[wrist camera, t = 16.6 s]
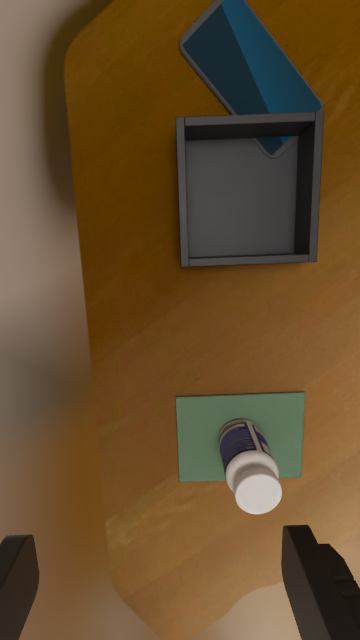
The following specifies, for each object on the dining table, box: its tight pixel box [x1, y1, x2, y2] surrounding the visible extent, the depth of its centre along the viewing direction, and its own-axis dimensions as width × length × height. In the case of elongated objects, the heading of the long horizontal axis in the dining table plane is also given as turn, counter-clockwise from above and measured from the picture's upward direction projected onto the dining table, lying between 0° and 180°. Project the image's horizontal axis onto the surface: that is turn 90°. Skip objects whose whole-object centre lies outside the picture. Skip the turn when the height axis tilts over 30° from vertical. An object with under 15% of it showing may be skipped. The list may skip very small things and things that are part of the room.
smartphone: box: [180, 0, 324, 159], centre depth 34 cm, size 8×15×1 cm, turn 43°
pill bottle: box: [218, 419, 282, 514], centre depth 38 cm, size 6×6×10 cm
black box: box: [176, 111, 324, 267], centre depth 34 cm, size 14×14×5 cm
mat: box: [176, 392, 305, 482], centre depth 43 cm, size 16×12×1 cm
